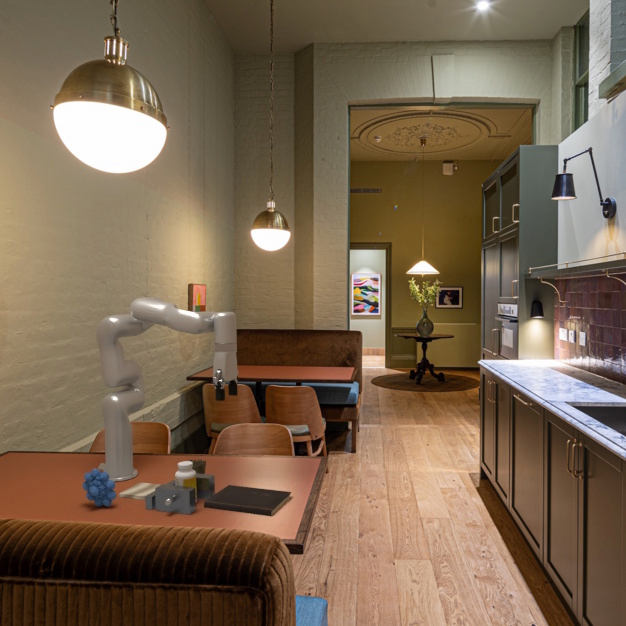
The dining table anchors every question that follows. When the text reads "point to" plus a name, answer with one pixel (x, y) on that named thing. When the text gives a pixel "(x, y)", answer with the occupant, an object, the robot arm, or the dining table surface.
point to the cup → (199, 466)
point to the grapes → (99, 488)
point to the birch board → (139, 491)
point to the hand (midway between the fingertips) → (226, 397)
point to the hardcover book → (248, 500)
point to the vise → (180, 495)
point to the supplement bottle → (186, 475)
